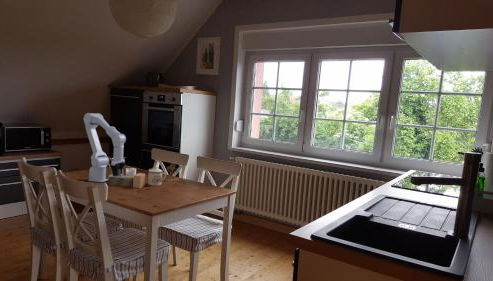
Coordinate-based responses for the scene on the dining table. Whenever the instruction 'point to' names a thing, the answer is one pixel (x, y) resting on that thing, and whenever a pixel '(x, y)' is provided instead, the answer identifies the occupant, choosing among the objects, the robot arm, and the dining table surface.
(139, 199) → the dining table surface
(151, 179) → the teacup with lid
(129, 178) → the slide bar
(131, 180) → the guide channel
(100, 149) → the robot arm
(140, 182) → the tan square block
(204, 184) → the dining table surface
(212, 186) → the dining table surface
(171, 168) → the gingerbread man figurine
